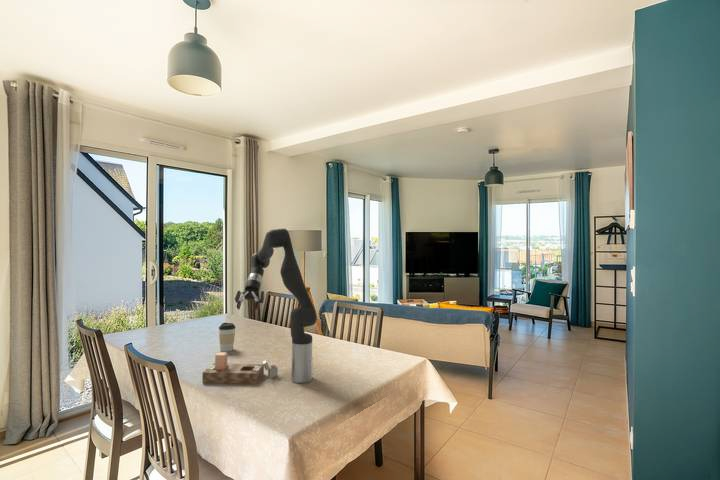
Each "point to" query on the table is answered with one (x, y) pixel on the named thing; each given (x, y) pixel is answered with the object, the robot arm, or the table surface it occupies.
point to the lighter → (271, 370)
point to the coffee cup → (226, 336)
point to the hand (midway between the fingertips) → (246, 308)
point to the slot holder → (234, 374)
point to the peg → (221, 361)
